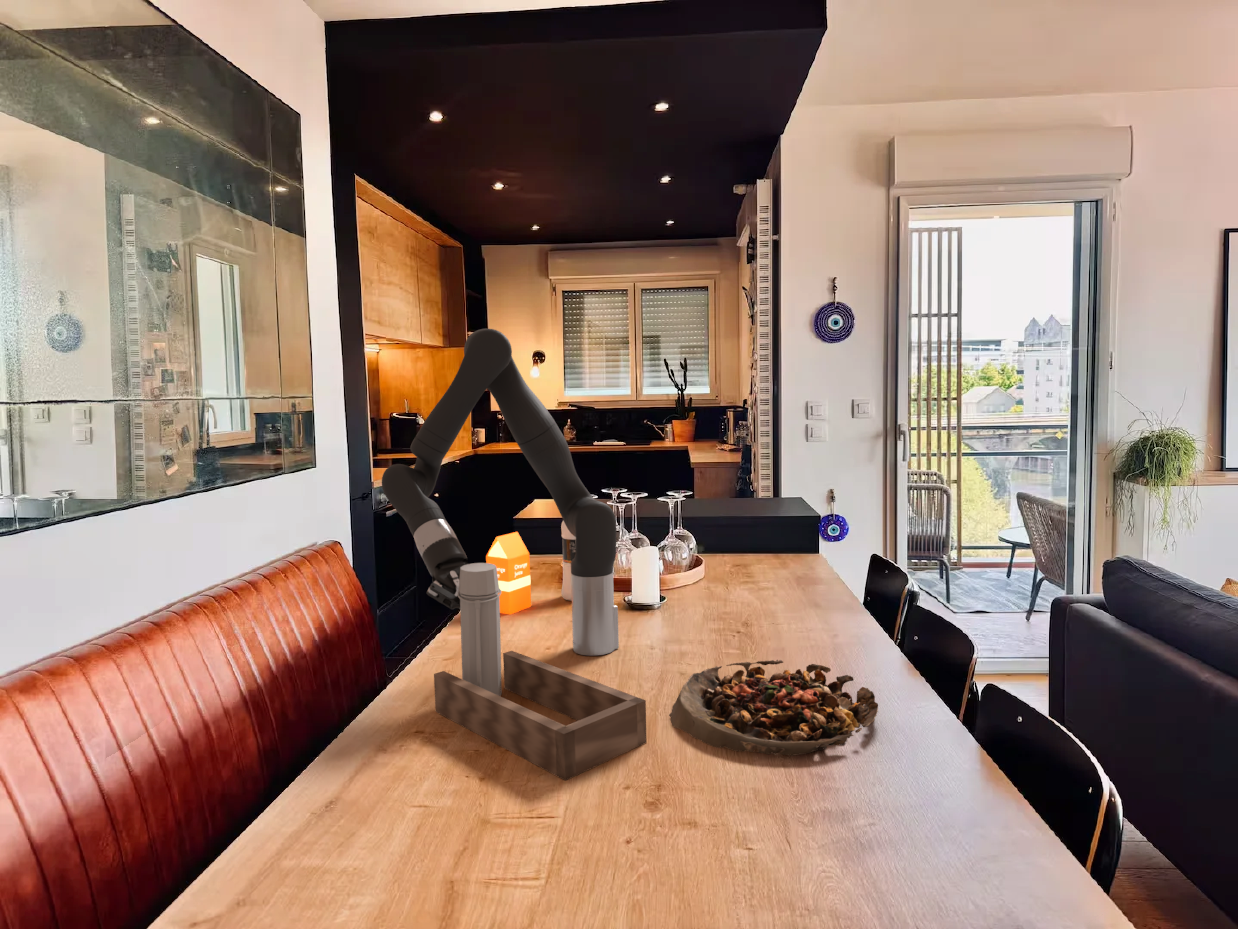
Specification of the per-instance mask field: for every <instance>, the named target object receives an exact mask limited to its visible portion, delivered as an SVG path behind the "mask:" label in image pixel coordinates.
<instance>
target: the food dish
mask: <svg viewBox="0 0 1238 929" xmlns="http://www.w3.org/2000/svg"><path fill="white" fill-rule="evenodd" d="M783 663H784V660H782V659H779V660H778V659H776V660H774V659H772V660H759V661H756V662H751V661H744V662H735V663H730V664H726V667H731V666H741V667H743V668H744V670H745V671H746V675H744V674H745V671H744V670H743V669H738V670H737V671H735V672H734V673H733V675H731V674H727V675H724V676H723V678H720V675H719V670H720V669H721V668H722V667H723V665H719V666H717V665H716V666H714V667H711V668H710V667H709V668H705V669H704V670H702V671H701V672H697V673H696V672H694V673H692V674H691V675H690V676H689V678H688V680H687V681H686V682H685V683H684V684H683V686H682V688H681V690H680V692H679V694H678V696H677V698H676V700H675V702H674V703H673V705H672V708H671V712H670V713H669V715H668V716H669V717H670V723H671V726H672V728H673V727H674V728H677V729H678V730H681V731H683V732H685V733H687V734H688V735H690V736H691V737H692V738H694V739H697V740H699V741H701V742H702V743H704V744H706V745H709V746H711V747H713V748H718V749H719V748H726V749H728V750H731V751H734V752H735V751H736V752H750V753H751V752H755V753H759V754H766V755H771V754H773V755H777V754H779V755H780V754H781V755H786V756H797V755H805V754H810V753H812V752H816V751H823V750H825V749H827V748H828V746H843V745H845V744H846V742H848V739H850V738H851V737H854V735H853V732H855V733H859V732H860V731H862V729H863V728H867V727H869V726H870V725H871V724H872V723H873V722H875V718H876V717H877V714H878V713H879V704H878V703H877V702H876V696H875V694H874V692H873V691H872V690H870V689H869V687H864V686H862V687H860V688H859V689H858V690H857V691H856V700H855V702H853V697H852V696H851V694H850V693H849V692H847V691H844V692H843V686H844V685H845V684H847V683H849V682H852V681H853V682H854V680H855V679H854V676H851V675H848V674H846V675H842V676H836V678H835V679H836V680H835V681H832V682H830V683H828V684H827V677H826V674H828V673H830V672H831V670H832V669H831V668H830V667H829V666H826V665H820V664H816V663H811V664H808V665H807V666H806V667H805V668H806V669H805V670H803V671H802V670H801V669H800V668H798V669H796V670H795V671H794V672H792V673H791V671H790V670H789V669H785V670H784V671H783V672H775V673H773V674H772V675H771V676H770V678H767V676H765V675H766V674H765V673H766V670H765V669H764V668H763V667H762V666H768V665H771V666H772V665H779V664H783ZM755 664H757V665H758V664H759V665H762V666H753V667H751V666H752V665H755ZM750 667H751V668H750ZM811 673H813V674H814V678H813V677H812V676H811V675H810V674H811ZM824 673H826V674H824ZM856 728H857V729H856Z"/></svg>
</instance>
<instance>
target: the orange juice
mask: <svg viewBox="0 0 1238 929" xmlns="http://www.w3.org/2000/svg"><path fill="white" fill-rule="evenodd" d="M522 539H523V538H522V536H520V534H519V532H518V531H515V532H514V531H513V532H510V533H506V534H502V535H498V536H496V537H495V539H494V541H493V542H492V545H490V546H491V547H490V548H489V550H488V552H487V553H486V555H485V561H486V562H485V563H490V564H494V565H495V566H496V567H497V576H498V584H499V588H500V590H501V595H500V614H506V615H513V614H515V613H518V612H520V611H523V610H526V609H528V608H530V607H532V594H531V592H532V590H531V584H532V583H531V565H530V564H531V562H530V560H531V559H530V552H529V550H528V549H527V546H526V545H525V543H524V541H523V540H522ZM498 595H499V593H498Z"/></svg>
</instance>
